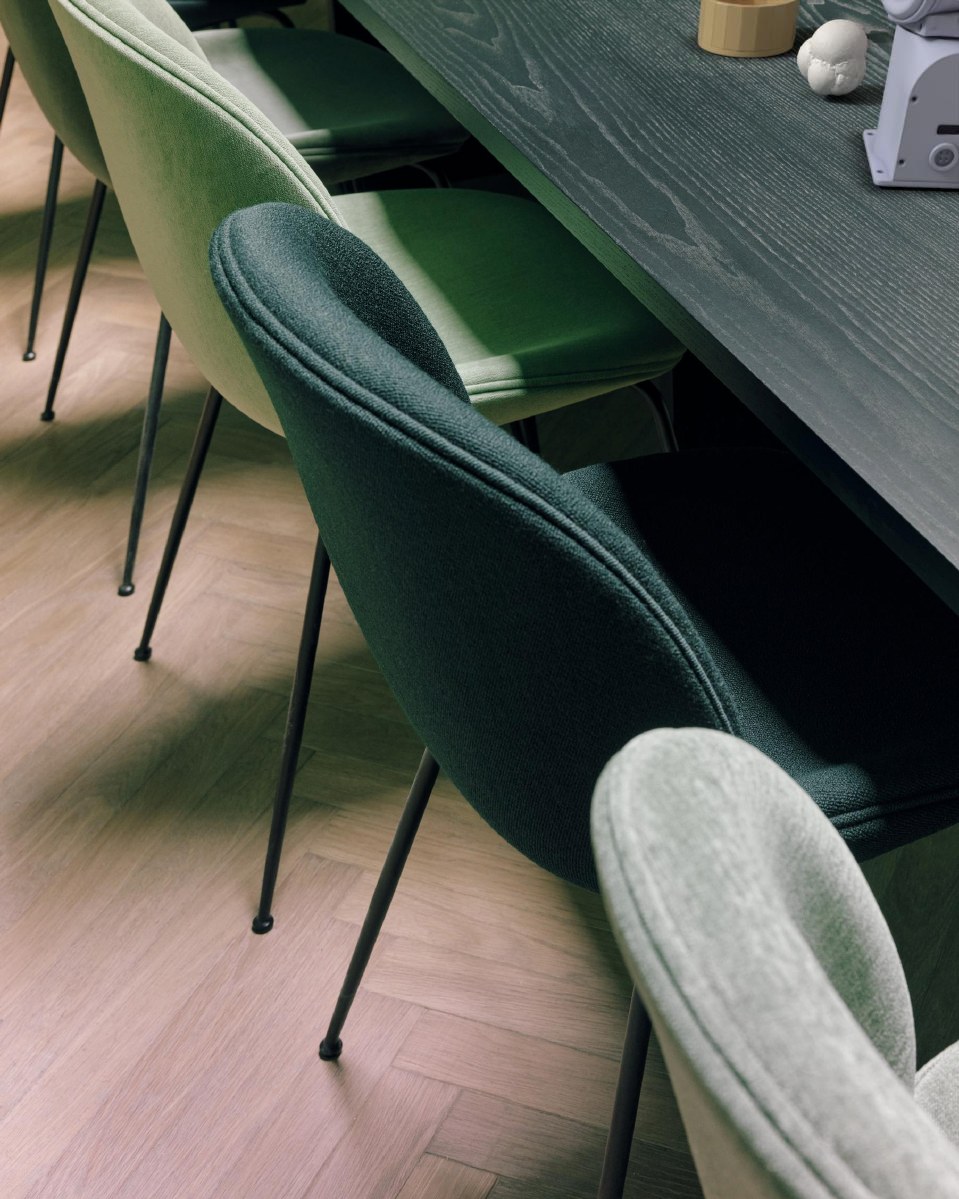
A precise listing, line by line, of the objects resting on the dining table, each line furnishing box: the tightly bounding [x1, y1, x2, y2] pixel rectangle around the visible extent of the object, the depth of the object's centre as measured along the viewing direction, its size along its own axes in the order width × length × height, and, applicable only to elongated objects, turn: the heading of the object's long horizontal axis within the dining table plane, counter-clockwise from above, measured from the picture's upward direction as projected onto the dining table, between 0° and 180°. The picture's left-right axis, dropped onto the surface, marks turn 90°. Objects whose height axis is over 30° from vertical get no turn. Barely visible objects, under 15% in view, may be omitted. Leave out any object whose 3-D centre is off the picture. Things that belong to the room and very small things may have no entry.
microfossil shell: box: [796, 18, 868, 96], centre depth 92 cm, size 4×5×6 cm
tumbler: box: [697, 0, 801, 58], centre depth 103 cm, size 8×8×4 cm
